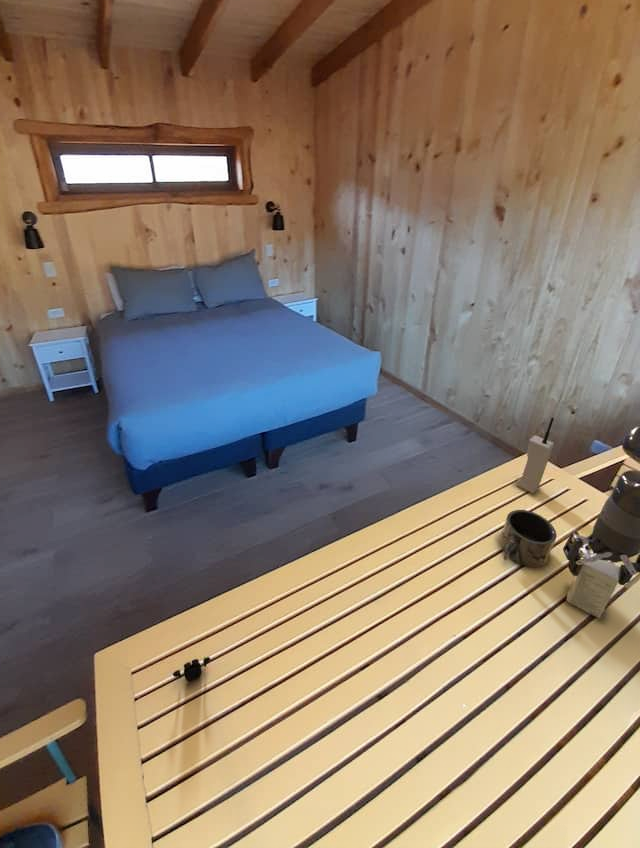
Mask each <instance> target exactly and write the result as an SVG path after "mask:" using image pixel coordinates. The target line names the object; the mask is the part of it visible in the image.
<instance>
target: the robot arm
mask: <svg viewBox="0 0 640 848" xmlns="http://www.w3.org/2000/svg"><path fill="white" fill-rule="evenodd" d="M621 447H622V451H623V452H624V453H625V454H626V455H627V456H628V457H629V458H631V460H633V461H635V462H636V463H638V464H639V465H640V424H638V425H636V426H634V427H633V428H631V429H630V430H629V431H628V432H627V433H626V434H625V435H624V437H623V440H622V443H621ZM562 550H563V553H564V555H565V558H566V560H567V561H568V563H567V568H568V570H569V572H570V573H571V575H572V576H573V577H575V576H578V574H579V572H580V570H581V567H582V564H584V563H586V562H589V561H590V562H595V561H597V560H599V559H600V560H607V561H609V562H611V563H614V564H615V563H616V564H618V563H620V562H622V564H620V565H619V567H621V569H620V577H619V581H618V583H617V584H618V585H620V586H626V584H628V583H630V581H631V579H632V578H633V576H635V575H638V574H639V573H640V470H636V469H630V470H629V469H628V470H625V471H624V472H622V473H621V475H620V476H619V477H618V479H617V481H616V483H615V485H614V487H613V489H612V491H611V494H610V495H609V496H608V498H607V499H606V500H605V502H604V504H603V506H602V508H601V510H600V512H599V515H598V516H597V519H596V521H595V523H594V526H593V528H592V532H591V534H589V535H587V536H585V535H580V534H579V532H578V531H577V530H576V531H572V532H571V533H570V535H569V537H568V539H567V540H566V541H565V544H564V546H563V548H562ZM590 550H591V551H592V553H591V551H590ZM590 553H591V554H593V555H591V554H590ZM582 555H583V556H582ZM636 556H637V557H636ZM634 557H636V560H635V561H634V562H632V561H631V560H630V559H631V558H634Z"/></svg>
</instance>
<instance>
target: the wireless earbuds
mask: <svg viewBox="0 0 640 848" xmlns="http://www.w3.org/2000/svg"><path fill="white" fill-rule="evenodd" d="M210 661H211V657H210V656H207V657H204V658H203V659H202V662H203V666H204V668H207V667H208V666H207V664H209V663H210ZM202 674H203V671H202V665H201V663H200V662H199V659H198V658H194V659H192V660H191V661H187V662H186V663H184V664H183V676H184V678H185V681H186V682H191V681H193V680H195V679H198V678H200V677H201V676H202ZM172 676H173V677H174V678H179V679H181V678H182V673H181V670H180V669H177V670H175V671H173V672H172Z"/></svg>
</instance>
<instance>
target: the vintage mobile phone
mask: <svg viewBox="0 0 640 848" xmlns="http://www.w3.org/2000/svg"><path fill="white" fill-rule="evenodd" d="M554 420H555V417H550V421H549V424H548V426H547V429H546V431H545V434H544V436H543V437H541V436H538V435H537V434H535V435H534V436H532V437H531V438H530V439H529V442H528V447H527V452H526V456H527V459H526V462H525V466H524V469H523V472H522V475H521V476H520V477H519V479H518V480H516V482H515V486H516V487H518V488H521V489H523V490H525V491H527V493H531V494H534V493H535V492H536V491H537V490H538V489H539V487H540V484H541V481H542V479H543V476H544V473H545V470H546V468H547V465H548V462H549V459H550V456H551V454H552V451H553V448H554V445H555V443H554V442H553V441H550V440H548V439H549V436H550V432H551V428H552V425H553V423H554Z"/></svg>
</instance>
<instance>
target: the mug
mask: <svg viewBox="0 0 640 848" xmlns="http://www.w3.org/2000/svg"><path fill="white" fill-rule="evenodd" d="M556 539H557V531H556V529H555V527H554V525H552V523H551V522H550V521H549V520H548V519H547V518H545V517H543V516H542V515H540V514H538V513H536V512H533V511H530V510H526V509H516V510H512V511H510V512H509V513H508V514H507V516H506V519H505V523H504V525H503V528H502V532H501V534H500V537H499V545H500V548H501V550H502V551H503V557H502V558H503V560H504V561H509V560H512V561H513V562H515V563H516V564H518V565H521V566H524V567H527V568H540V567H543V566H544V565H546V563H547V561H548V559H549V558H550V557H549V556H550V555H551V552H552V549H553V547H554V544H555V542H556Z"/></svg>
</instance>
